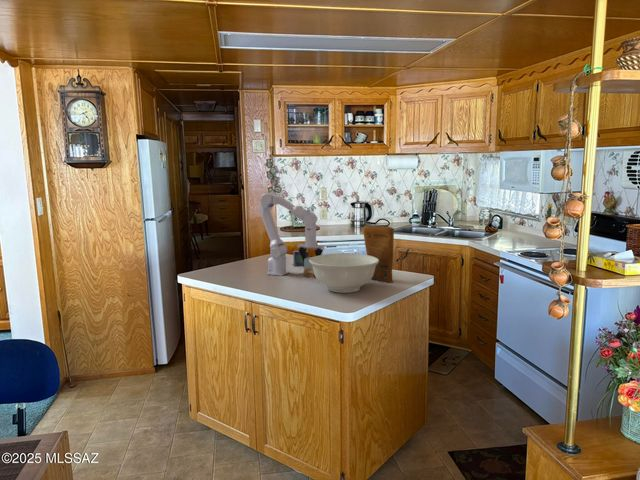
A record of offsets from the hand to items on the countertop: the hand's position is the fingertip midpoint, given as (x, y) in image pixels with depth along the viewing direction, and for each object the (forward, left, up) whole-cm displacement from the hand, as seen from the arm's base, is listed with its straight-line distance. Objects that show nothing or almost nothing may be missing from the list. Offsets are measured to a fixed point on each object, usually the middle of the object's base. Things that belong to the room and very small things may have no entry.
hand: (310, 262), depth 250 cm
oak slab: (0, 0, -5) cm, 5 cm away
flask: (-16, +20, -8) cm, 27 cm away
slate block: (0, 0, -3) cm, 3 cm away
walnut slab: (0, 0, -8) cm, 8 cm away
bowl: (+26, -18, -8) cm, 33 cm away
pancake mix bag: (+36, +5, -8) cm, 37 cm away
